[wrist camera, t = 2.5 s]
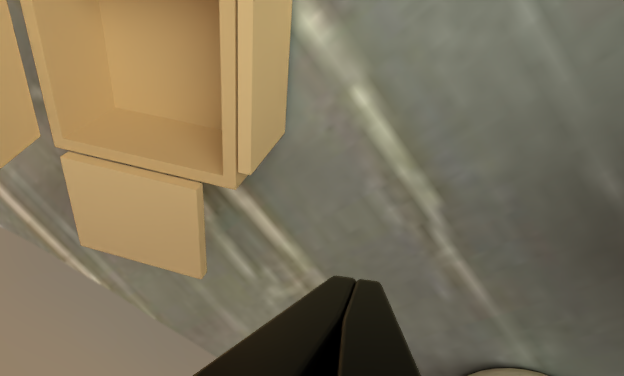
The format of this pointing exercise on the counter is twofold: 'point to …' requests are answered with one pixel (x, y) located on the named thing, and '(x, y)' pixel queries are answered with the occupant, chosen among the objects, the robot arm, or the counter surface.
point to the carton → (158, 112)
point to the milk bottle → (507, 372)
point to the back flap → (13, 95)
